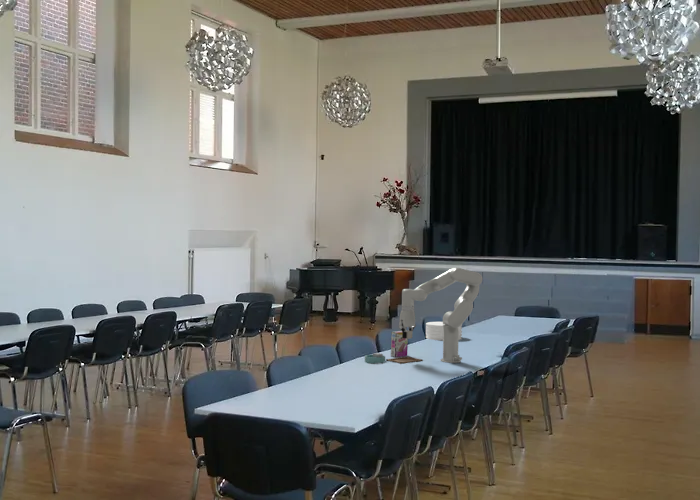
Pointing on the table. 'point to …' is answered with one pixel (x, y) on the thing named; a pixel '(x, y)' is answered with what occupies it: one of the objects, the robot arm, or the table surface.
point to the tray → (404, 360)
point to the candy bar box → (398, 344)
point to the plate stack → (437, 331)
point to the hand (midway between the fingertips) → (407, 337)
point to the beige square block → (409, 334)
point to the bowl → (374, 359)
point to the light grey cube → (377, 355)
